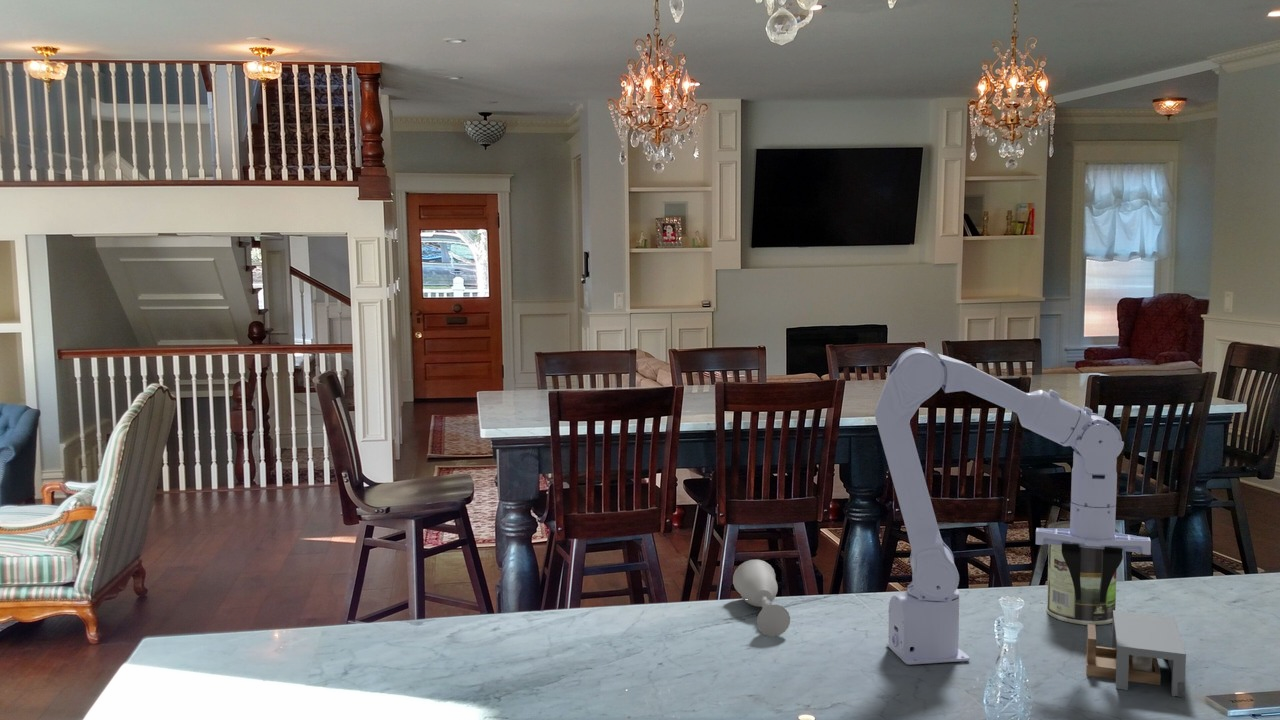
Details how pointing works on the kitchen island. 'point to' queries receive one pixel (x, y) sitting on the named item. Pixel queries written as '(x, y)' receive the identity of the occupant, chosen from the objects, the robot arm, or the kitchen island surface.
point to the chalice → (762, 595)
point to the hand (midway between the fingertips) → (1090, 598)
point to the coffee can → (1063, 592)
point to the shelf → (1148, 645)
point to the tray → (1104, 662)
